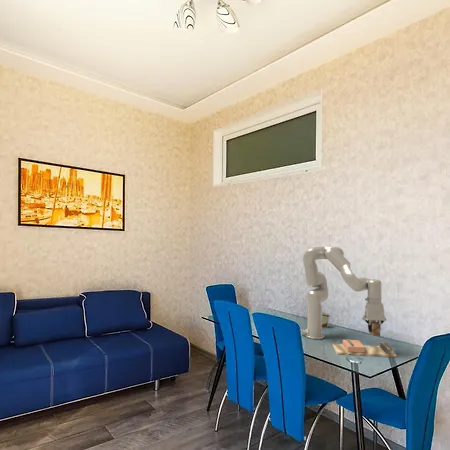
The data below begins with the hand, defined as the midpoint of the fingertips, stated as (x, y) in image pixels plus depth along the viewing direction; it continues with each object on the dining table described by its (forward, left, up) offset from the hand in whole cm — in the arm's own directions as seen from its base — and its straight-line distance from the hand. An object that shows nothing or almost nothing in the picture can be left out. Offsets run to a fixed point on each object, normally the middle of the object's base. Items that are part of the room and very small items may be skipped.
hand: (374, 331), depth 203 cm
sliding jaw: (-12, 0, -11) cm, 16 cm away
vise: (-6, 0, -12) cm, 14 cm away
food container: (-23, +48, -13) cm, 55 cm away
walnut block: (0, 0, -2) cm, 2 cm away
